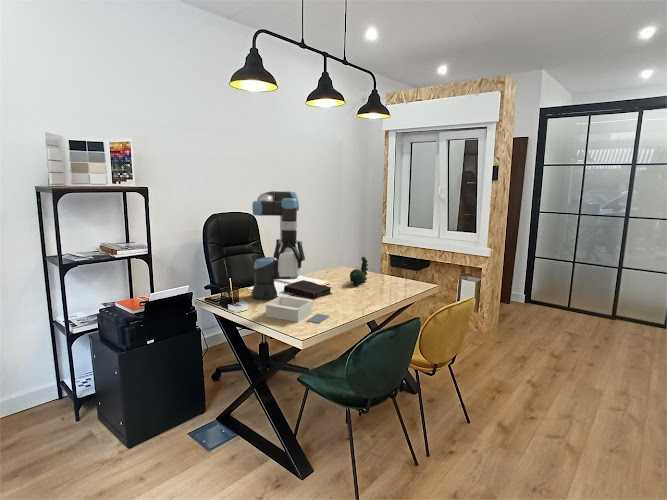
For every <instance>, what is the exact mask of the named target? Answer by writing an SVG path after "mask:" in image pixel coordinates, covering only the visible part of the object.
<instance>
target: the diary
mask: <svg viewBox="0 0 667 500" xmlns="http://www.w3.org/2000/svg"><path fill="white" fill-rule="evenodd" d="M332 289H333V287H332V286H328V285H323V284H320V283H315V282H313V281H308V280H304V279H302V280H298V281H295V282H292V283H289V284H285V285H284V287H283V292H284V291H285V292H284V293H287V292H289V293H288V294H291V293H292V294H291V295H296V296H299V297H301V298H305V299H311V300H316V299H319V298H322V297H323V298H324V297H327V296H330V295H332V294H333V292H331V290H332Z"/></svg>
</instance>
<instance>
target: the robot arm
mask: <svg viewBox="0 0 667 500" xmlns="http://www.w3.org/2000/svg"><path fill="white" fill-rule="evenodd" d="M299 205H300V204H299V196H298V194H297V192H295V191H291V190H290V191H277V190H276V191H275V190H274V191H273V190H271V191H267V192H263V193H261V194H260V195H259V196H258V197H257V200H254V201H252V206H251V207H252V208H251V210H252V214H253V216H258V217H260V216H261V217H263V216H270V217H271V216H272V217H273V216H274V217H275V216H276V217H279V235H280V236H279V239H276V240H275V241H276V243H275V248H274V252H273V257H272V256H271V257H270V256H267V257H266V256H265V257H261V258H257V259H256V260H254V263H253V264H254V266H253V270H254V275H253V276H254V277H253V279H254V284H253V287H252V291H251V298H252V299H254V300H260V301H267V300H268V301H271V300H273V299H276V298H278V292H277V288H276V285H275V280H276V281H277V280H296V279H298V277H280V276H279V256H280V254H281V253H285V252H293V253H294V255H295V257H296V259H297V262H296V275H298V274H299V275H300V274H301V268H302V263H303V262H304V261H305V260H306V257H305V253H304V248H303V241H302V240H297V238H298V237H297V236H298V235H297V234H298V231H297V225H298V223H297V222H298V220H297V217H298V216H297V215H298V214H297V213H298V211H299V210H300V207H299Z"/></svg>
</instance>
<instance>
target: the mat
mask: <svg viewBox="0 0 667 500" xmlns="http://www.w3.org/2000/svg"><path fill="white" fill-rule="evenodd" d="M328 318H330V315H329V314H322V313H316V314H314V315H313V316H312V317H310V318H308V319H307V320H306V322H307V323H314V324H320V323H322V322H324V321H325V320H327V319H328Z"/></svg>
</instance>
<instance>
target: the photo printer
mask: <svg viewBox="0 0 667 500" xmlns="http://www.w3.org/2000/svg"><path fill="white" fill-rule="evenodd" d="M296 262H297V259H296V257H295V255H294V253H293V252H285V253H281V254H280V256H279V276H280V277H297V278H298V277H300V274H298V275H296Z"/></svg>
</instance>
